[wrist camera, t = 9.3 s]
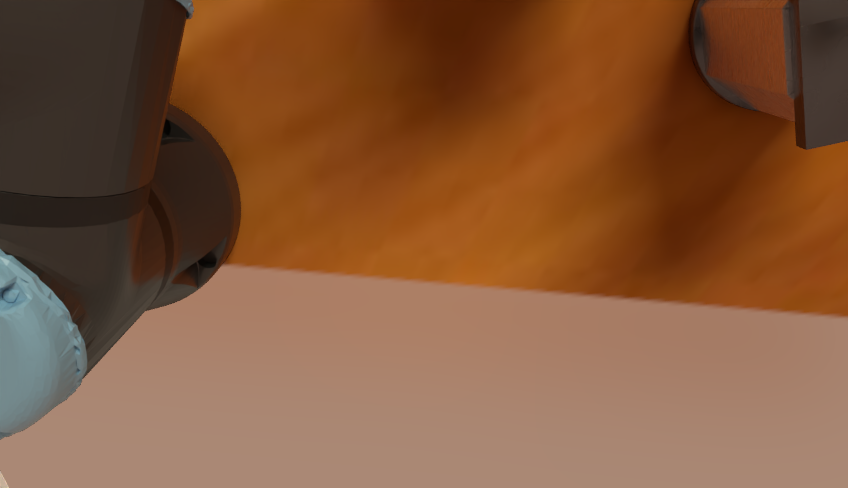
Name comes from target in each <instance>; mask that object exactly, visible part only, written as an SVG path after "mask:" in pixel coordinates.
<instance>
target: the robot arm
mask: <svg viewBox="0 0 848 488" xmlns="http://www.w3.org/2000/svg"><path fill="white" fill-rule="evenodd" d="M193 12H194V7H193V3H192V0H0V440H1V439H2V438H4V437H8V436H11V435H13V434H15V433H17V432H20V431H23V430H25V429H26V428H28V427H30V426H31V425H33V424H34V423H35V422H37V421H38V420H39V419H41V418H42V417H43V416H44V415H45V414H47V413H48V412H49V411H51V410H52V409H53V408H54V407H56V406H57V405H58V404H60V403H62V402H63V401H65V400H67V398H68V397H69V396H70V395H72V394H73V393H74V392H75V391H76V389H77V388H78V387H79V386H80V385H81V382H82V379H83V378H84V377H85V376H86V375H87V373H89V372H90V371H91V369H92V368H93V367H94V366H95V365H96V364H97V363H98V362H99V361H100V360H101V359H102V357H103V356H104V355H105V354H106V353H107V352H108V351H109V350H110V349H111V347H113V345H114V344H115V343H116V342H117V341H118V340H119V339H120V338H121V337H122V336H123V335H124V334H125V332H126V331H127V330H128V329H129V328H130V327H131V326H132V325H133V324H134V322H136V320H137V319H138V318H139V317H140V316H141V315H142V314H143V313H144V312H145V311H147V310H151V309H155V308H158V307H162V306H166V305H169V304H172V303H175V302H177V301H180V300H182V299H183V298H185V297H187V296H189V295H190V294H192V293H194V292H195V291H196V290H198V289H199V288H201V287H202V286H203V285H204V284H205V283H207V282H208V281H209V279H210V278H211V277H212V276H213V275H214V274H215V273H216V271H217V270H218V269H219V268H220V267H221V265H222V264H223V263H224V261H225V260H226V258H227V257H228V255H229V254H230V252H231V250H232V248H233V246H234V243H235V240H236V238H237V234H238V230H239V225H240V217H241V202H240V193H239V188H238V184H237V180H236V177H235V174H234V172H233V169H232V167H231V165H230V162H229V160H228V159H227V157H226V155H225V153H224V152H223V150H222V148H221V147H220V146H219V144H218V143H217V142H216V140H215V139H214V138H213V137H212V135H211V134H210V133H209V132H208V131H207V130H206V129H205V128H204V127H203V126H202V125H201V124H199V123H198V122H197V121H196V120H195V119H193V118H192V117H191V116H189V115H188V114H186V113H185V112H183V111H182V110H180V109H178V108H177V107H175V106H173V105H171V104H169V99H170V95H171V90H172V85H173V80H174V75H175V70H176V66H177V61H178V56H179V51H180V46H181V41H182V37H183V32H184V27H185V22H186V19H191V18H192V16H193ZM0 488H9V486H8V484H7V482H6V481H5V479H4V477H3V475H2V473H1V471H0Z"/></svg>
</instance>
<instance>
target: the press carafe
mask: <svg viewBox="0 0 848 488" xmlns="http://www.w3.org/2000/svg"><path fill="white" fill-rule="evenodd" d="M689 45H690V51H691V56H692V59H693V62H694V65H695V67H696V69H697V71H698V73H699V75H700V76H701V78H702V79H703V81H704V82H705V83H706V85H707V86H708V87H709V88H710V89H711V90H712V91H713V92H714V93H716V94H717V95H718V96H719V97H721V98H723V99H724V100H726V101H728V102H730V103H732V104H735V105H737V106H740V107H743V108H746V109H750V110H755V111H762V112H765V113H768V114H771V115H774V116H778V117H781V118H784V119H787V120H790V121H793V122H795V131H796V146H798V147H800V148H803V149H806V150H807V149H812V148H817V147H821V146H826V145H831V144H835V143H840V142H845V141H848V0H695V1H694V4H693V7H692V11H691V16H690V22H689Z"/></svg>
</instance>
